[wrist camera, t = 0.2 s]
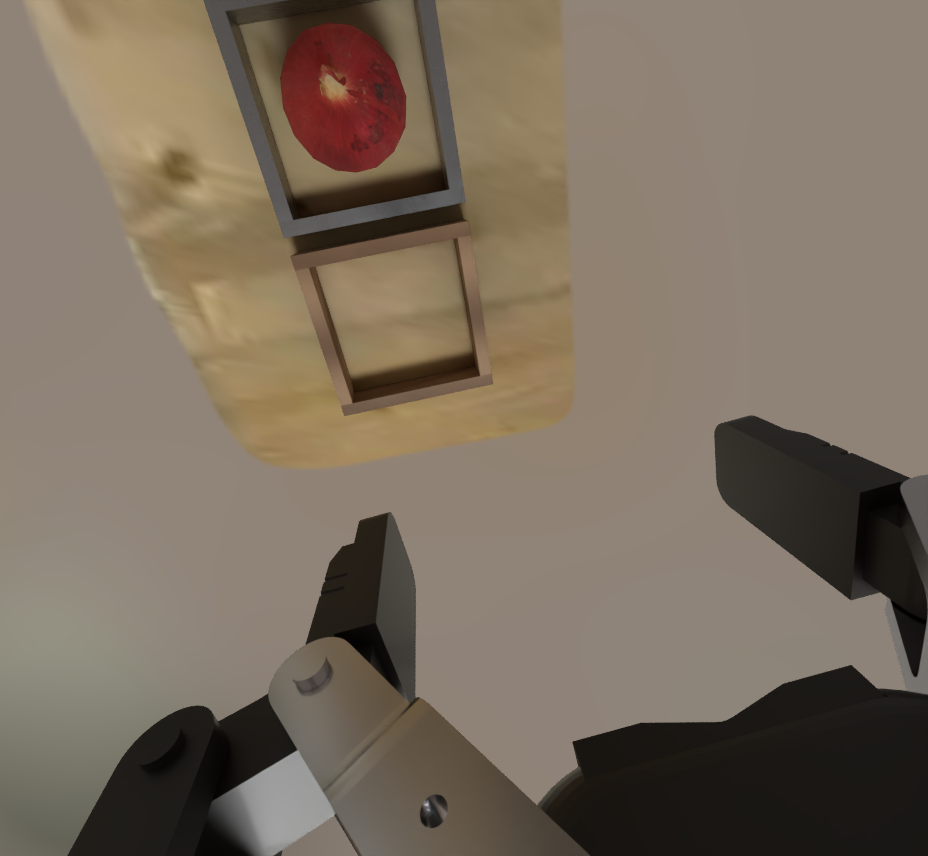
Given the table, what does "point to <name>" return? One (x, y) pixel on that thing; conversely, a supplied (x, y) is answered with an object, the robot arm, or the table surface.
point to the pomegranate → (343, 97)
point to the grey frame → (244, 4)
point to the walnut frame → (328, 337)
